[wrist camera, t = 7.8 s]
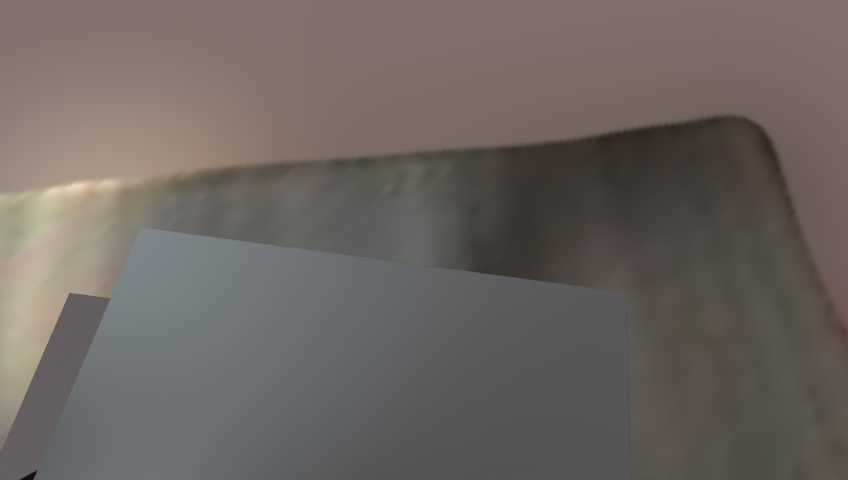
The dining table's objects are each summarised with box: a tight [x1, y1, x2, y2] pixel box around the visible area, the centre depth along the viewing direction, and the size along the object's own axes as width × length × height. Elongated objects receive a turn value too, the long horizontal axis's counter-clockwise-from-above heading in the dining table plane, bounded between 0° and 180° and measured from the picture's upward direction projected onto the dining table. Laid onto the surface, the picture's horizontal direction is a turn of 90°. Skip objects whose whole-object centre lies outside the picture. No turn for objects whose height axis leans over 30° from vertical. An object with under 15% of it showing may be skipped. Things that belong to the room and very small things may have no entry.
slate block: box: [34, 228, 631, 480], centre depth 8 cm, size 4×4×12 cm
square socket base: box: [0, 293, 111, 480], centre depth 18 cm, size 14×14×3 cm
